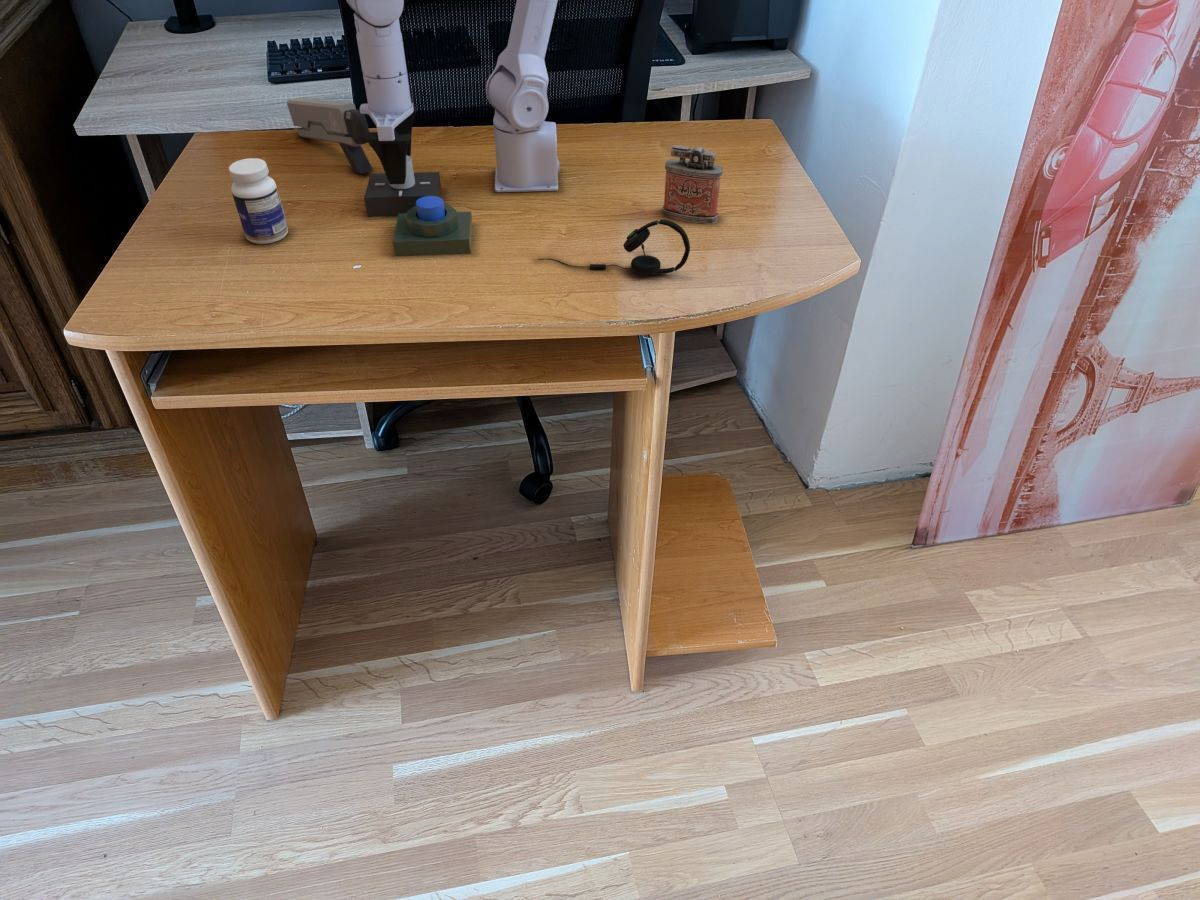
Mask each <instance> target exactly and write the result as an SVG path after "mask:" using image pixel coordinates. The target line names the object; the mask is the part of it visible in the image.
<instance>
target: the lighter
mask: <svg viewBox="0 0 1200 900" xmlns="http://www.w3.org/2000/svg"><path fill="white" fill-rule="evenodd" d="M716 154H717V152H715V151H711V150H705V149H704V147H703V146H701V145H697V146H695V147H694V148H691V147H690V146H686V145H685V146H684V145H679V144H673V145H672V147H671V149H670V156H671V157H674V158H669V159H668V160H666V161H665V165H664V169H665V181H664V183H665V184H664V198H663V199H664V200H663V206H662V210H661V214H662V216H663V217H666V218H670V219H674V220H677V221H683V222H688V223H697V224H705V225H706V224H707V225H708V224H709V225H711V224H715V223H717V221H718V216H719V215H718V213H719V212H718V205H719V196H720V186H721V177H722V176H723V167H722V166H720V165H717V164H715V162H716Z"/></svg>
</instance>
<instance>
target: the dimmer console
mask: <svg viewBox="0 0 1200 900" xmlns="http://www.w3.org/2000/svg"><path fill="white" fill-rule="evenodd" d="M414 178H415V185H414V186H412V187H410V188H407V189H395V188H392V187H391V186H390V183H389V181H388V179H387V176H386V174H385V172H384V173H383V172H381V173H370V176H369V180H368V181H367V186H366V189H365V194H364V197H363V200H364V205H365V210H366V215H367V216H366V217H367V218H378V217H379V218H384V217H398V214H402V213H407V211H409V210H410V209H412V208H413V207H414V206H416V201H417V200H418V199H420V198H422V197H425V196H437V197H440V198H442V191H443V190H442V181H441V173H440V171H420V172H415V171H414Z"/></svg>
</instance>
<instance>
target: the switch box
mask: <svg viewBox="0 0 1200 900" xmlns="http://www.w3.org/2000/svg"><path fill="white" fill-rule="evenodd" d="M444 210H445V217H444V218H442V219H439V220H436V221H424V220H419V218H418V214H417V207H416V206H414V207H413V208H412V209H410V210H409V211H407V213H402V214H398V216H397V219H396V223H395V228H394V233H393V237H392V247H393V253H394V257H407V256H410V257H411V256H441V255H444V256H445V255H471V253H472V239H473V229H474V228H473V227H474V224H473V216H472V211H457V210H456V209H455V208H454V207H453V206H452V205H450V204H446V203H444Z"/></svg>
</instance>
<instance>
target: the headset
mask: <svg viewBox="0 0 1200 900" xmlns="http://www.w3.org/2000/svg"><path fill="white" fill-rule="evenodd" d="M658 225H662V226H667V227H669V228H671V229H672V230H674V231H675V232H677V233H678V234H679V236H680V237H681V239H682V242H683V245H684V253H683V255H682V257H681V260H680V261H679V262H678V264H676V266H675V267H674V266H671V267H667V268H661V267H662V264H661V260H660V259H659V258H658V257H655V256H653V255H647V254H646V253H645V244H644V243H645V242H646V241H647V240H648V238H649V237H650V235H651V231H650V229H649V228H651V227H654V226H658ZM622 247H623V249H624V250H625V252H627V253H632V252H633V251H635V250H637V249H638V248H639V247H641V250H642V252H643V255H637V256H635V257H633V258H632V260H631V262H630V268H627V267H622V266H620V265H617V264H608V265H606V263H603V264H602V263H601V264H599V263H598V264H597V263H591V264H589V265H582V266H578V265H572V264H569V263H565V262H562V261H560V260H557V259H555V258H547V260H548V261H549V260H550V261H555V262H557V263H561V264H563V265H566V266H569V267H574V268H589V269H591V270H606V269H607V267H612V266H615V267H618V268H621V269H622V270H623V269H624V270H631V271H632V272H633V273H635V274H637V275H640V276H641V275H642V276H651V275H652V276H653V275H655V274H656V275H657V274H658V275H660V274H661V275H662V274H663V275H664V274H669V273H674V272H676V271H678V270H680V269H681V268H683V266H684V265H685V264H686V263H687V261H688V259H689V256H690V252H691V243H690V239H689V236H688V234H687V232H686V231H685V229H683V227H682V226H680V225H679V224H678V223H676V222H675V221H672V220H669V219H657V220H653V221H651V222H648V223H646V224H644V225H643V226H641V227H640V228H636V229H634V230H632V232H630V233H629V234H627V236H626V240H625V241H624V243H623V245H622ZM537 260H538V261H542V260H544V258H538V259H537Z"/></svg>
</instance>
